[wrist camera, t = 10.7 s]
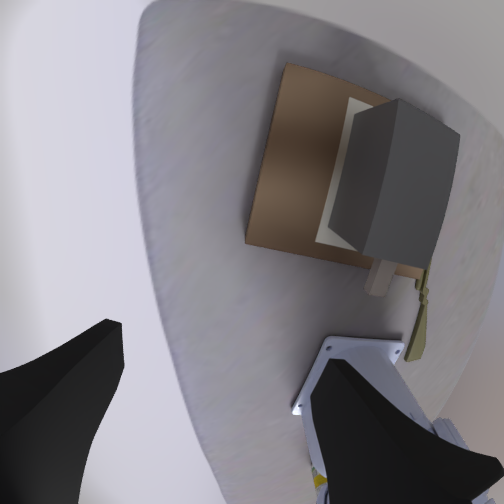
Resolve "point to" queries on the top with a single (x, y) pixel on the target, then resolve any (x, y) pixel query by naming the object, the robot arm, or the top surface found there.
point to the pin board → (308, 168)
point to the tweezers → (419, 321)
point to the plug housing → (394, 188)
